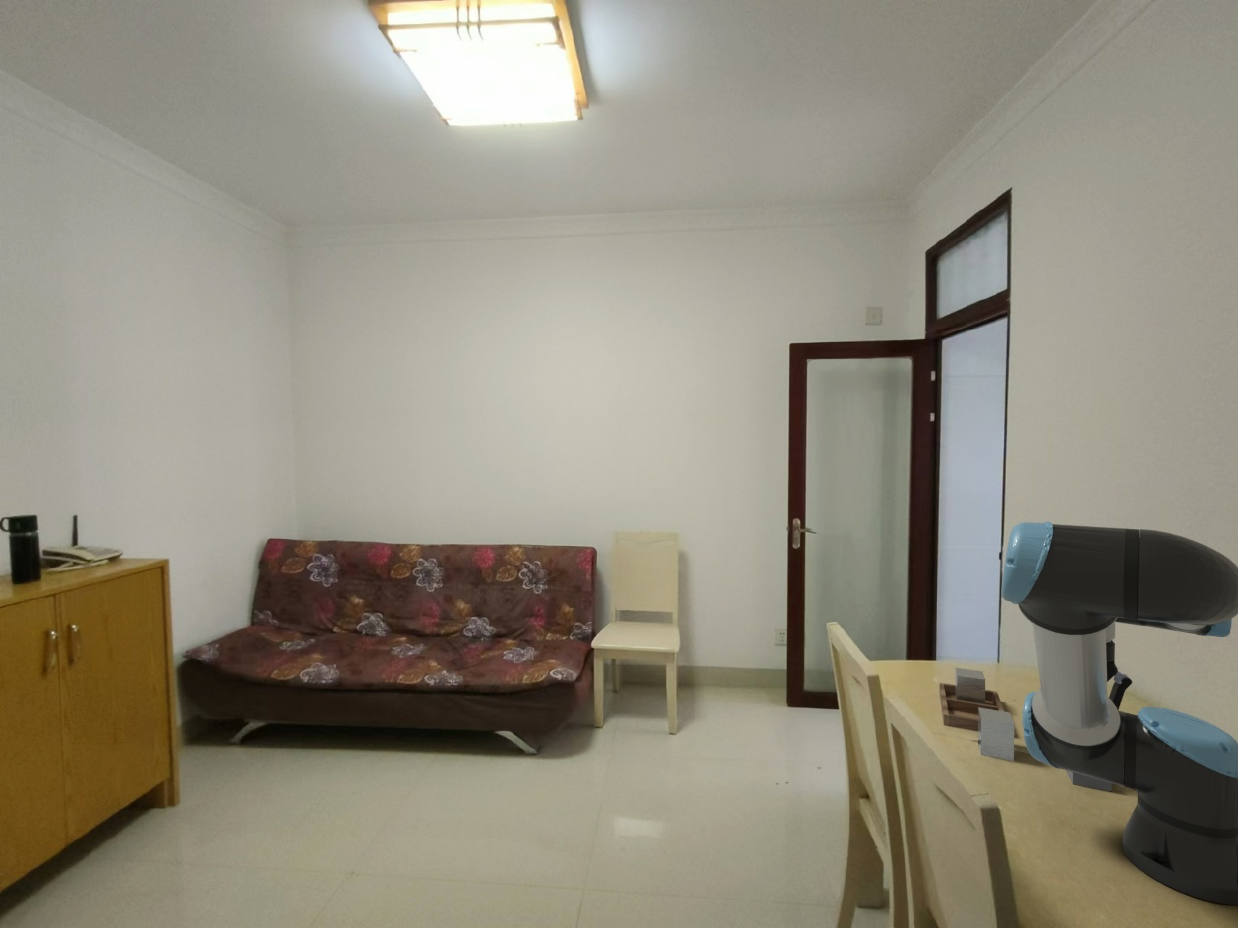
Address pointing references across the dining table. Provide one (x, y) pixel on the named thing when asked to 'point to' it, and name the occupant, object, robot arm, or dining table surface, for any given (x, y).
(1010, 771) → the dining table surface
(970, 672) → the block
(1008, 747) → the block
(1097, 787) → the button housing
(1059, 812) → the dining table surface
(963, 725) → the wooden cubby shelf
